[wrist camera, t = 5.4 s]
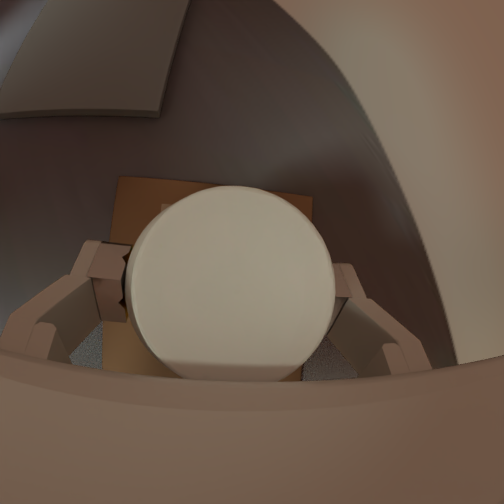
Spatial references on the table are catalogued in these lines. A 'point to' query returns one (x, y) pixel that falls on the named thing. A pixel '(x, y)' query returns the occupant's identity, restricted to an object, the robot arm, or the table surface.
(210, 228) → the supplement bottle
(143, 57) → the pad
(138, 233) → the tile
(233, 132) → the table surface
